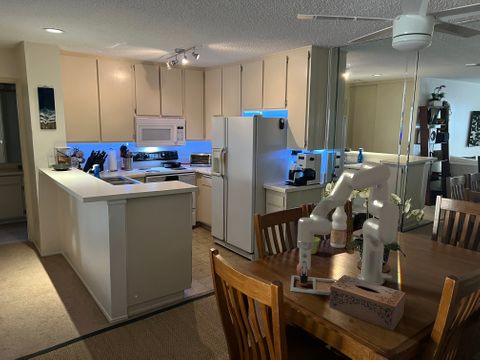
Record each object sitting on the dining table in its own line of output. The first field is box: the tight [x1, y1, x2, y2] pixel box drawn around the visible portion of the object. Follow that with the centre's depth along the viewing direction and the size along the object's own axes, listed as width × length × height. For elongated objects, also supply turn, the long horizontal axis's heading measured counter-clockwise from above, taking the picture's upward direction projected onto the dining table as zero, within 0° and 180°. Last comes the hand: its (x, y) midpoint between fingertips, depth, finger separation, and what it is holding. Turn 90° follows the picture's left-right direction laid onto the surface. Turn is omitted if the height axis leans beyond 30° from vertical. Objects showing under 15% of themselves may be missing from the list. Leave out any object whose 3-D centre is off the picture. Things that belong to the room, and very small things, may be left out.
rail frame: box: [290, 275, 338, 296], centre depth 163 cm, size 22×14×2 cm, turn 79°
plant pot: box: [311, 236, 321, 255], centre depth 208 cm, size 9×9×9 cm
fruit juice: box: [330, 203, 348, 249], centre depth 218 cm, size 9×9×28 cm
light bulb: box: [296, 262, 313, 287], centre depth 164 cm, size 7×7×12 cm
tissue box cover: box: [328, 274, 406, 332], centre depth 142 cm, size 26×14×10 cm, turn 51°
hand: (303, 279), depth 164 cm, fingers closed on light bulb, 6 cm apart
